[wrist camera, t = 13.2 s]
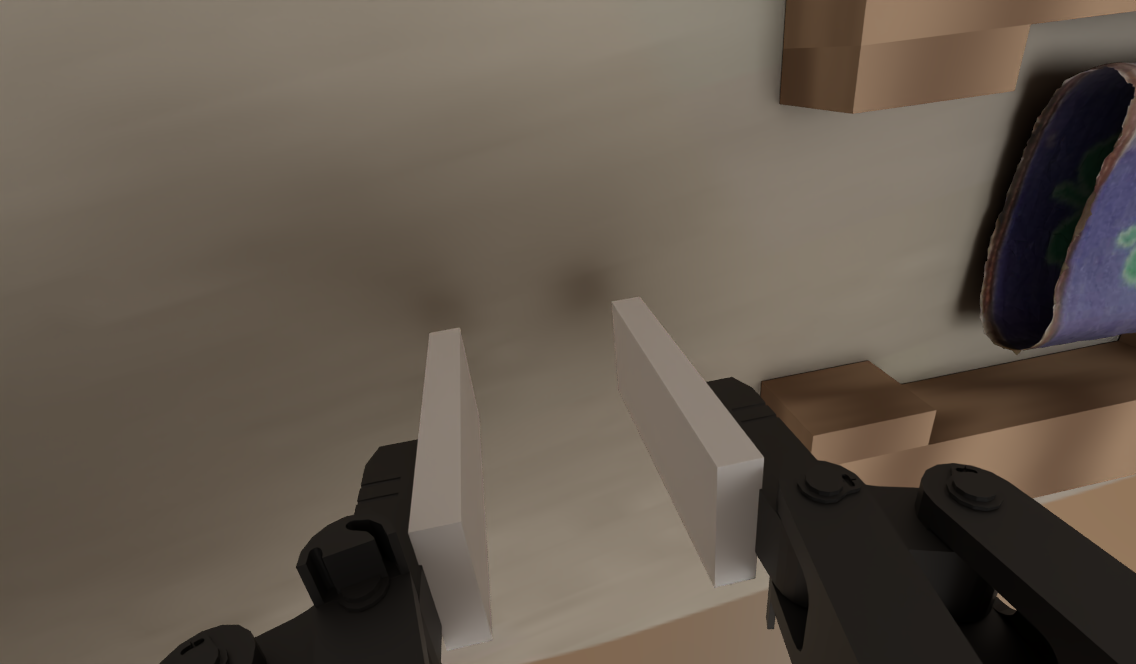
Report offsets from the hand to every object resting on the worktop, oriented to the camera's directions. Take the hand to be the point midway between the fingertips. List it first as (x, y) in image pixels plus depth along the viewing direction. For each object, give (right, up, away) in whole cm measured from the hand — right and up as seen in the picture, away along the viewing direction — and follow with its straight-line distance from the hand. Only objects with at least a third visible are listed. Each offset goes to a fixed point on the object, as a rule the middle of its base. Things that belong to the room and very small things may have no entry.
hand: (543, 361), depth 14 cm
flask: (+16, +5, +6) cm, 18 cm away
